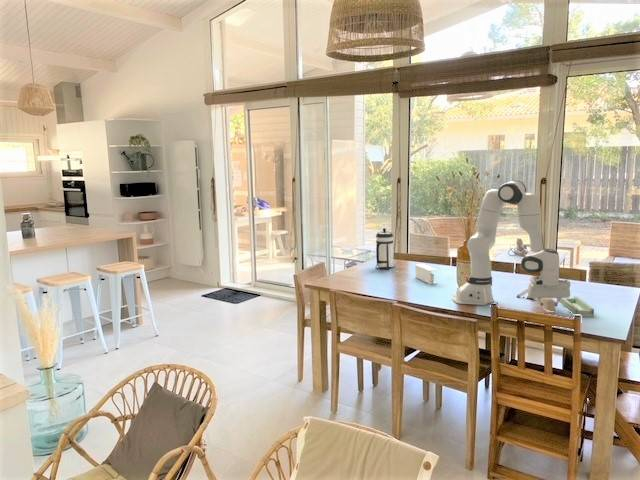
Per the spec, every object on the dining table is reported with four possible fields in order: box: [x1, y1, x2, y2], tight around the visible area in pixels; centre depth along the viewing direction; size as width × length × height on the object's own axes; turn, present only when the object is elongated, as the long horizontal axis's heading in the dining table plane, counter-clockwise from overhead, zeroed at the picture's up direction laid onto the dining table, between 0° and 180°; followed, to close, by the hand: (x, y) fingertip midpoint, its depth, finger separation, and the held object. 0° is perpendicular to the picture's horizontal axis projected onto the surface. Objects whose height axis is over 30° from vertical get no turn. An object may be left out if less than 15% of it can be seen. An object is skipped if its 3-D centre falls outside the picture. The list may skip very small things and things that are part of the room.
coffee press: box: [375, 228, 396, 271], centre depth 361 cm, size 17×16×30 cm
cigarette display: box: [415, 263, 438, 285], centre depth 324 cm, size 20×6×9 cm, turn 16°
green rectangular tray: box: [558, 295, 595, 318], centre depth 254 cm, size 9×22×4 cm, turn 173°
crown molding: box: [516, 288, 537, 300], centre depth 287 cm, size 31×12×4 cm, turn 137°
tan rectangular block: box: [537, 298, 556, 312], centre depth 258 cm, size 4×16×6 cm, turn 172°
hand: (548, 305), depth 255 cm, fingers open, 6 cm apart
